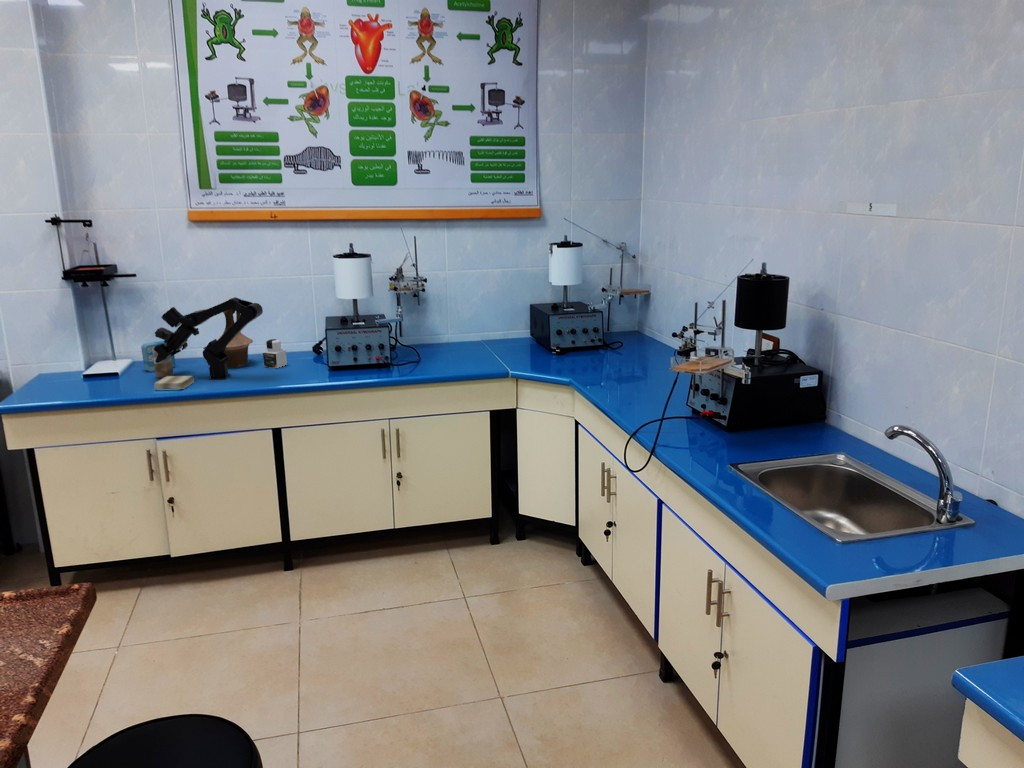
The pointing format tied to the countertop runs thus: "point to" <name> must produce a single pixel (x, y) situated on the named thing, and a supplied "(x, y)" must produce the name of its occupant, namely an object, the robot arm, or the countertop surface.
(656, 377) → the countertop surface
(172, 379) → the beige square block
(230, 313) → the pitcher
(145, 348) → the data package
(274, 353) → the medicine bottle
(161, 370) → the gray square block
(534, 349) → the countertop surface
